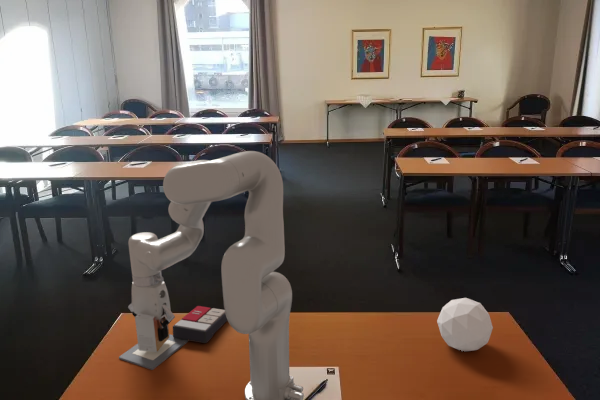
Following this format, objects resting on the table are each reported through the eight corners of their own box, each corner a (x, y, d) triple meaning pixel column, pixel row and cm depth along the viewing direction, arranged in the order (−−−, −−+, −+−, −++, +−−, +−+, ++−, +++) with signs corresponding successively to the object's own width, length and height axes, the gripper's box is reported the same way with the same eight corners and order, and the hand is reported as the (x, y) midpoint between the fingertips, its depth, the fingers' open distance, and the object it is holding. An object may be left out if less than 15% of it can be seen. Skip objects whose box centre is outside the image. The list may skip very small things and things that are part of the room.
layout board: (188, 341, 140) (188, 339, 139) (152, 370, 127) (152, 367, 126) (156, 332, 145) (156, 330, 144) (118, 358, 132) (118, 356, 131)
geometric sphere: (446, 359, 139) (421, 312, 142) (489, 336, 141) (464, 289, 144) (464, 364, 125) (436, 311, 128) (512, 338, 127) (483, 287, 130)
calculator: (228, 309, 150) (205, 329, 136) (228, 321, 151) (206, 343, 137) (197, 304, 153) (171, 324, 139) (197, 316, 154) (172, 337, 140)
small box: (156, 353, 131) (153, 318, 128) (138, 350, 132) (134, 316, 129) (170, 337, 138) (167, 304, 135) (152, 335, 139) (148, 302, 136)
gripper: (181, 277, 129) (186, 336, 134) (133, 267, 136) (139, 323, 141) (162, 289, 123) (169, 350, 127) (113, 277, 130) (120, 335, 135)
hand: (153, 335), depth 134 cm, fingers closed on small box, 6 cm apart
